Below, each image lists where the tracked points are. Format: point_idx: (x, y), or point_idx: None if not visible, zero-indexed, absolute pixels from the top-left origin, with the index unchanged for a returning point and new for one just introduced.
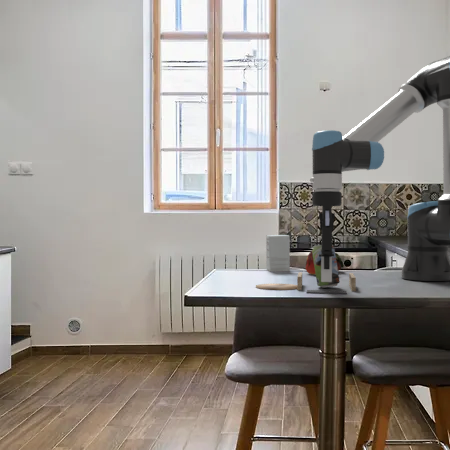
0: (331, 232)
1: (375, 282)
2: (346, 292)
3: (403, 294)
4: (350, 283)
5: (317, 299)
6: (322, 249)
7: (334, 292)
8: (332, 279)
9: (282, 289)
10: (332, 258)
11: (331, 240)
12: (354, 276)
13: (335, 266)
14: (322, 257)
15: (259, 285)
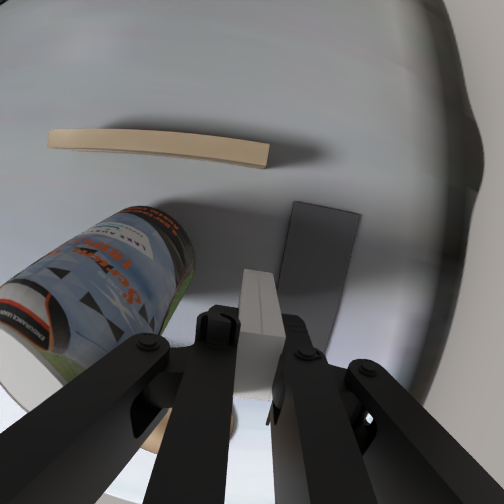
0: (496, 490)
1: (19, 59)
2: (347, 213)
3: (352, 12)
4: (162, 154)
5: (445, 332)
6: (371, 439)
7: (345, 264)
8: (187, 254)
9: (232, 416)
10: (127, 290)
11: (449, 440)
12: (202, 137)
13: (137, 249)
14: (269, 392)
15: (155, 448)
